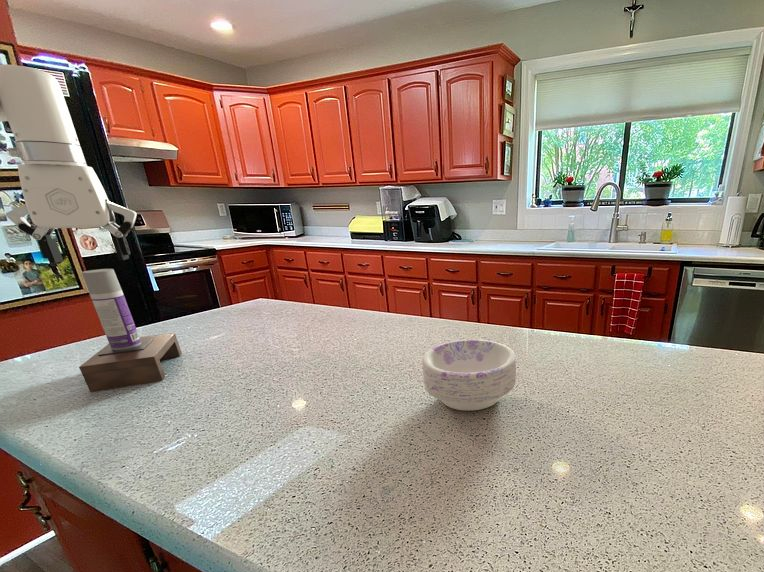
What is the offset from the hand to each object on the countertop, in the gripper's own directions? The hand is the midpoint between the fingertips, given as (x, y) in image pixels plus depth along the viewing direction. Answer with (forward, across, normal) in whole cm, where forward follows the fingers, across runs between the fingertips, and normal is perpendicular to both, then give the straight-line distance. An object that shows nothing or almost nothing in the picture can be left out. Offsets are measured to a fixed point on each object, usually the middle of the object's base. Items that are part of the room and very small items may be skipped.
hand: (91, 260), depth 73 cm
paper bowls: (+21, +58, -42) cm, 75 cm away
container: (+17, +1, 0) cm, 17 cm away
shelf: (+22, +2, -1) cm, 22 cm away
